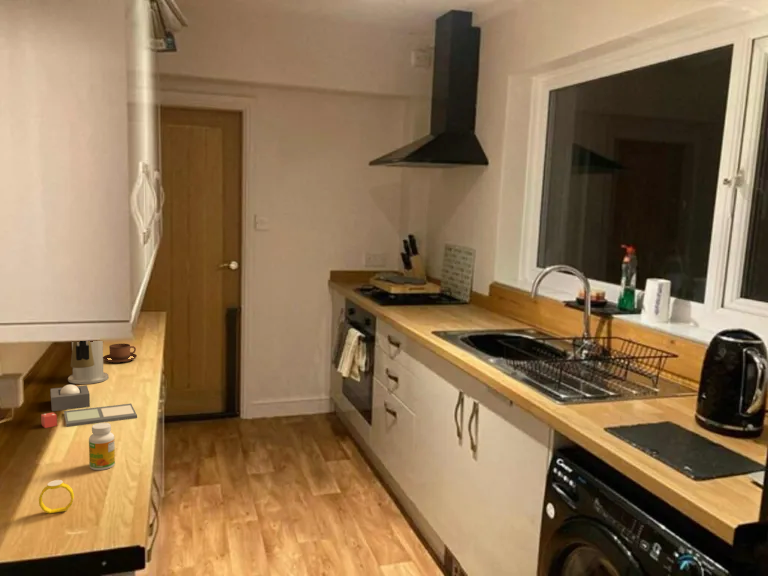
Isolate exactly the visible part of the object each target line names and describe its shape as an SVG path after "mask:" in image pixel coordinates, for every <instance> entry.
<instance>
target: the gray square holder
mask: <svg viewBox="0 0 768 576" xmlns="http://www.w3.org/2000/svg"><path fill="white" fill-rule="evenodd" d="M76 386H77V387H78V389H79V391H80V393H74V394H65V395H60V391H61V389H62V388H63V387H55V388H50V406H51V411H52V412H56V411H67V410H76V409H85V408H91V404H90V403H91V402H90V394H91V393H90V391H89V388H88V384H83V385H76Z"/></svg>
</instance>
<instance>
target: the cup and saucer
mask: <svg viewBox="0 0 768 576" xmlns="http://www.w3.org/2000/svg"><path fill="white" fill-rule="evenodd" d="M131 348H132V349H133V351H131ZM136 351H137V348H136V347H135V346H134V345H130V344H129V343H113V344H110V345H109V354H107V355H103V361H105V362H107V363H112V362H113V364H118V363H119V364H120V362H123V363H127V362H132V361H134V360H135V359H136V358H137V354H136ZM130 356H133V357H134V358H131V359H128V358H129V357H130ZM107 358H111V359H112V360H108V359H107ZM131 360H132V361H131Z"/></svg>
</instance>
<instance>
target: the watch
mask: <svg viewBox="0 0 768 576" xmlns="http://www.w3.org/2000/svg"><path fill="white" fill-rule="evenodd" d="M59 488H62V489H65V490H66V491H67V492H68V494H69V495H70V501H69V503H68V504H67V505H66V506H63V507H58V508H57V507H56V508H53V509H52V508H50V507H47V506H46V505H45V503H44V502H43V495H44V493H46V492H47V491H48V490H56V489H59ZM74 498H75V494H74V490H73V488H72V487H71V486H70V485H69V484H67V483H64V481H63V480H61V479H55V480H52V481H49V482H48V483H47V485H46V486H45V487H44V488H42V491H41V493H40V494H39V496H38V506H39V507H40V509H41V510H42V511H43V512H44V513H46V514H49V515H50V514H51V515H52V514H56V513H61V512H67V511H68V509H70V508H71V507H72V504H73V501H74Z"/></svg>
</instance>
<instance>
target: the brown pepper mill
mask: <svg viewBox="0 0 768 576" xmlns="http://www.w3.org/2000/svg"><path fill="white" fill-rule="evenodd" d="M88 345H89V359H88V360H85V359H83V358H82V360H76V346H77V342H73V349H72V348H71V351H72V352H71V356H70V357H71V360H70V368H72V369H73V368H86V367H91V366H94V359H93V354H92V348H91V342H90V341H88Z"/></svg>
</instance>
